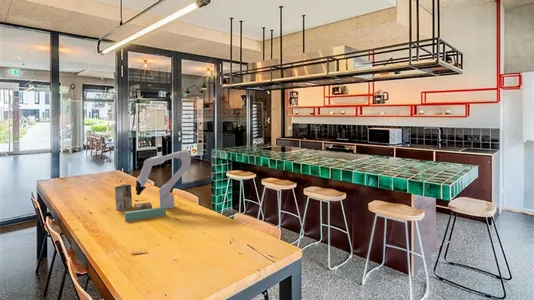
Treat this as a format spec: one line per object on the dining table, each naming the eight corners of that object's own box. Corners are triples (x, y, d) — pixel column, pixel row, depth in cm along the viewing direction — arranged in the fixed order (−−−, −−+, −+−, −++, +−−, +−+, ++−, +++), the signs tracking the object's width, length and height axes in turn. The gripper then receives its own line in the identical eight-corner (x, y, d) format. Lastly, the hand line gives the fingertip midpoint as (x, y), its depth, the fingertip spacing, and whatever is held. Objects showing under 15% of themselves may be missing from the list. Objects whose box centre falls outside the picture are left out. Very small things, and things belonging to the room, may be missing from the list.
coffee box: (124, 206, 221) (123, 184, 220) (132, 206, 220) (131, 184, 218) (115, 209, 212) (114, 186, 211) (123, 210, 211) (122, 187, 209)
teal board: (165, 214, 203) (164, 206, 203) (165, 215, 201) (165, 208, 200) (125, 219, 192) (124, 212, 192) (125, 221, 189) (125, 213, 189)
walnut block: (150, 209, 215) (149, 202, 215) (152, 212, 208) (151, 205, 208) (134, 211, 210) (134, 204, 210) (136, 214, 203) (135, 207, 203)
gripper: (137, 170, 219) (130, 187, 220) (139, 176, 206) (132, 195, 207) (147, 172, 222) (140, 190, 223) (150, 179, 210) (142, 197, 211)
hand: (137, 192), depth 215 cm, fingers open, 7 cm apart
